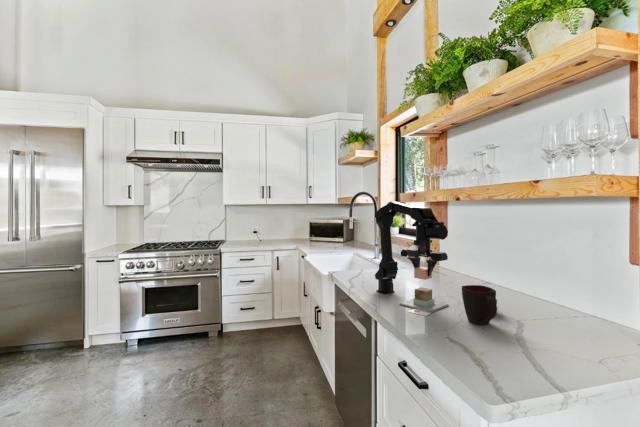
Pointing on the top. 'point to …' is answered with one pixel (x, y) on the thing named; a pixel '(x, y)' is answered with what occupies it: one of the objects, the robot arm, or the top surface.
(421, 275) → the brick terracotta
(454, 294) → the top surface
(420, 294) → the brown block
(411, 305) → the plate
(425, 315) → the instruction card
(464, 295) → the cup
